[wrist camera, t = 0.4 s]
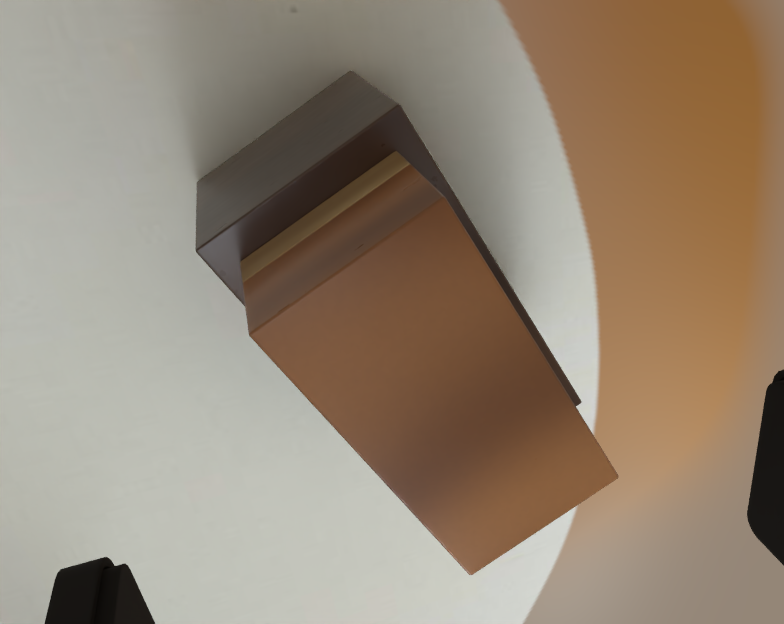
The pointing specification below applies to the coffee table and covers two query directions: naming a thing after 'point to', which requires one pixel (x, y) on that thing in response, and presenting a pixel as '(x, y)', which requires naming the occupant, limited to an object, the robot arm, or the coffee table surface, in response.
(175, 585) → the coffee table surface
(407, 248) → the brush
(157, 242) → the coffee table surface
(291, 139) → the stand
